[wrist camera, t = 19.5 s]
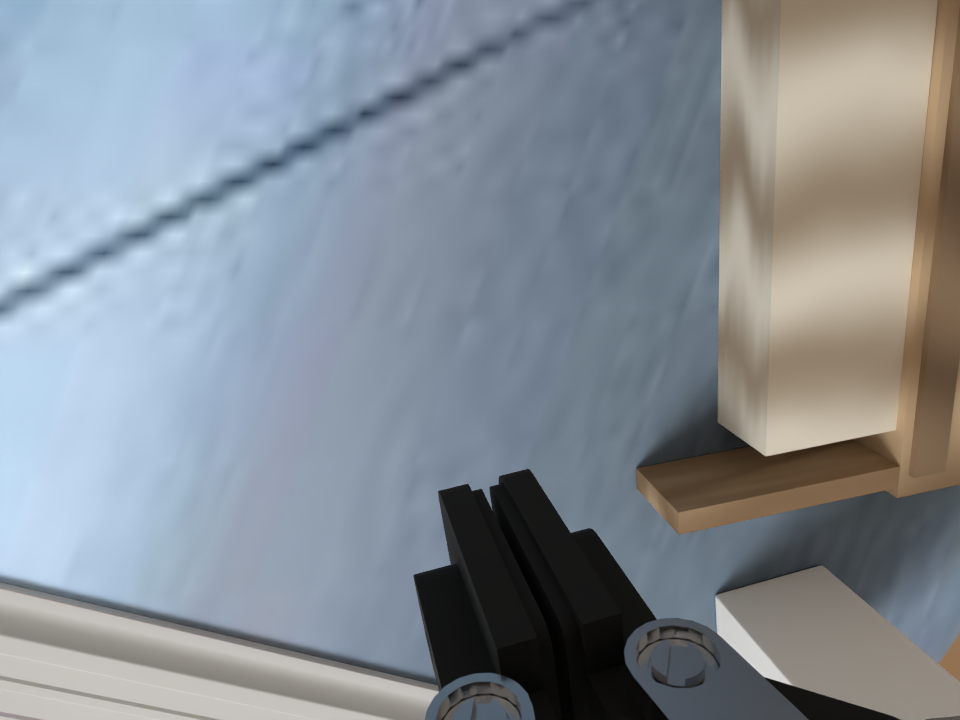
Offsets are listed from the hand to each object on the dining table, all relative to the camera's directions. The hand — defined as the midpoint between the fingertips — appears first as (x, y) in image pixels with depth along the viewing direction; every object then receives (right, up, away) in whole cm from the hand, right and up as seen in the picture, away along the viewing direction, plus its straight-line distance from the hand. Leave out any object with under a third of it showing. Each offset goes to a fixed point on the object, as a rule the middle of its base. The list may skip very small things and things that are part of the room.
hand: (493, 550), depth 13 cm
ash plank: (+12, +11, +17) cm, 23 cm away
